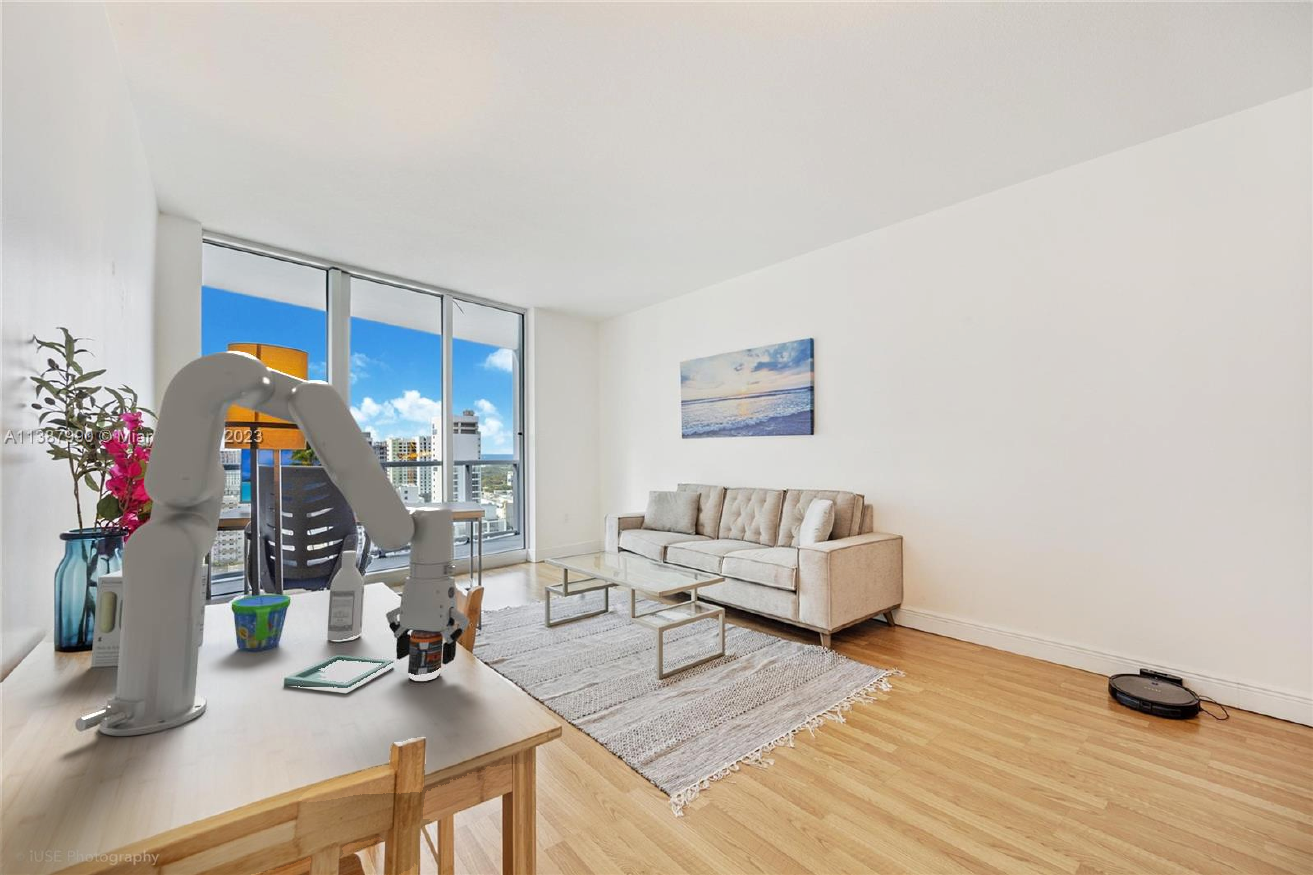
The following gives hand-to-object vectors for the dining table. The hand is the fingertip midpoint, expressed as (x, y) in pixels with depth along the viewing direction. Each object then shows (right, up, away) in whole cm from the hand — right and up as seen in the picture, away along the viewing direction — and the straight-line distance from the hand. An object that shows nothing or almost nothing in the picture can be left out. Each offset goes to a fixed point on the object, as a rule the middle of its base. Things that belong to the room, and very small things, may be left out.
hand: (425, 659), depth 108 cm
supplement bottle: (0, -4, 0) cm, 4 cm away
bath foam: (-28, -4, +21) cm, 35 cm away
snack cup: (-42, -3, +14) cm, 45 cm away
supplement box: (-60, -2, +7) cm, 60 cm away
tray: (-16, -3, -1) cm, 16 cm away
